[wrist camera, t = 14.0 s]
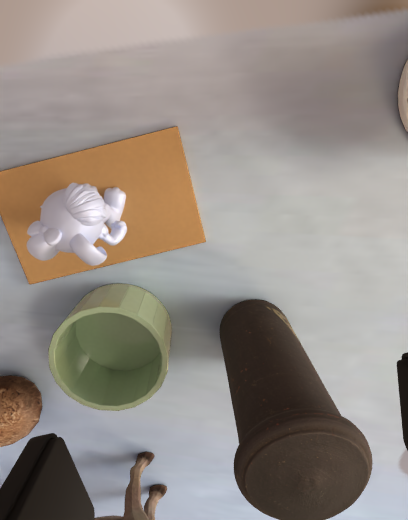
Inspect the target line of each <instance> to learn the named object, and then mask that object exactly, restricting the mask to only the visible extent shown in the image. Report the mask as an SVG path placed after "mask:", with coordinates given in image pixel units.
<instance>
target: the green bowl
mask: <svg viewBox="0 0 408 520" xmlns="http://www.w3.org/2000/svg"><path fill="white" fill-rule="evenodd" d="M171 334H172V326H171V321H170V318H169V315H168V313H167V311H166V309H165V307H164V306H163V304H162V303H161V302H160V301H159V300H158V299H157V298H156V297H155V296H154V295H152V294H151V293H150V292H148V291H146V290H144V289H142V288H140V287H137V286H134V285H129V284H120V283H119V284H109V285H105V286H101V287H99V288H97V289H94V290H93V291H91V292H90V293H88V294H87V295H85V296H84V297H83V298H82V300H81V301H80V302H79V303H78V304H77V306H76V307H75V308H74V309H73V311H72V312H71V313H70V314H69V316H68V317H67V318H66V319H65V320H64V322H63V323H62V324H61V325H60V327H59V328H58V329H57V330H56V332H55V333H54V334H53V337H52V340H51V343H50V346H49V350H48V352H49V366H50V370H51V372H52V374H53V377H54V379H55V381H56V383H57V384H58V385H59V386H60V387H61V389H62V390H63V391H64V392H65V393H66V394H67V395H68V396H69V397H71V398H72V399H74V400H76V401H77V402H79V403H80V404H82V405H85V406H88V407H91V408H95V409H98V410H111V411H119V410H124V409H128V408H133V407H136V406H137V405H139V404H141V403H143V402H145V401H146V400H148V399H149V398H151V397H152V396H153V395H154V393H155V392H156V391H157V390H158V389H159V388H160V387H161V385H162V383H163V381H164V379H165V376H166V374H167V371H168V362H169V354H170V346H171Z"/></svg>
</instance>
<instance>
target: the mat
mask: <svg viewBox="0 0 408 520" xmlns="http://www.w3.org/2000/svg"><path fill="white" fill-rule="evenodd" d="M71 183H77V184H85V183H87V184H89V185H91V186H95V187H96V188H97V190H98V193H99V195H100V196H101V197H102V199H104V193H105V190H106V189H107V188H114V187H118V188H119V189H120V190H121V191H123V192H124V193H125V194H126V200H125V205H124V209H123V212H122V215H121V218H120V221H123V222H125V223H126V226H127V232H126V234H125V236H124V238H123V239H122V240H121V241H120V242H119V243H118V244H116V245H109V244H107V243H106V242H104V241H103V240H101V239H97V240H96V242H95V243H94V244H93V245H94V246H95V247H96V248H97V247H99V246H100V247H102V248H103V249H104V250H105V251H106V253H107V258H106V260H105V261H104V262H103V263H101V264H99V265H96V266H91V265H88V264H86V263H85V262H84V261H82V260H81V259H80V258H79V257H78V256H77V255H76V254H75V253H67V252H62V251H59V252H58V254H57V255H56V256H55V257H53V258H52V259H50V260H46V261H42V260H39V259H36V258H35V257H33V256H32V255H31V254H30V253H29V251H28V249H27V241H28V240H29V239H30V238H31V237H32V236H30V235H28V234H27V230H28V228H29V226H30V225H31V224H32V223H33V222H35V221H40V216H41V207H40V206H42V205H43V203H44V201H45V200H46V199H47V197H48V196H50V195H51V194H52V193H54V192H56V191H58V190H61V189H65V188H67V187H68V186H69V185H70V184H71ZM0 215H1V217H2V219H3V222H4V224H5V227H6V229H7V231H8V234H9V236H10V239H11V241H12V243H13V246H14V248H15V251H16V253H17V256H18V258H19V260H20V263H21V265H22V268H23V270H24V272H25V275H26V277H27V280H28V282H29V284H34V283H38V282H42V281H46V280H51V279H55V278H59V277H63V276H67V275H71V274H75V273H79V272H83V271H88V270H92V269H96V268H100V267H104V266H108V265H112V264H116V263H120V262H125V261H129V260H133V259H137V258H141V257H145V256H149V255H153V254H157V253H162V252H166V251H170V250H174V249H178V248H182V247H186V246H190V245H194V244H199V243H203V242H206V240H205V236H204V232H203V228H202V224H201V220H200V216H199V212H198V208H197V204H196V200H195V196H194V191H193V187H192V183H191V179H190V175H189V171H188V167H187V163H186V159H185V155H184V151H183V147H182V143H181V139H180V135H179V131H178V127H177V126H176V127H172V128H168V129H164V130H161V131H157V132H153V133H149V134H145V135H141V136H137V137H133V138H129V139H125V140H122V141H118V142H114V143H110V144H106V145H102V146H98V147H94V148H90V149H86V150H82V151H79V152H75V153H71V154H67V155H63V156H59V157H55V158H51V159H47V160H43V161H39V162H36V163H32V164H28V165H24V166H20V167H16V168H12V169H8V170H4V171H0ZM104 224H105V223H104ZM105 225H106V224H105ZM106 226H107V225H106ZM107 228H108V233H109V234H110V233H111V228H109V227H108V226H107Z"/></svg>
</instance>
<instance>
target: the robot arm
mask: <svg viewBox="0 0 408 520" xmlns="http://www.w3.org/2000/svg"><path fill="white" fill-rule="evenodd" d="M407 99H408V60H407V62H406V64H405V66H404V69H403V72H402V75H401V78H400V83H399V90H398V107H399V112H400V117H401V120H402V122H403V125H404V127H405V129H406V131H407V132H408V102H407ZM397 372H398V384H399V395H400V406H401V417H402V428H403V439H404V443H405V446H406V448H407V450H408V353H404V354H403V355H402V360H399V361H398V362H397ZM0 520H94V507H93V505H92V502H91V500H90V498H89V496H88V494H87V491H86V489H85V487H84V485H83V482H82V480H81V478H80V476H79V473H78V471H77V469H76V467H75V464H74V462H73V460H72V458H71V455H70V453H69V451H68V449H67V447H66V444H65V442H64V440H63V439H62V438H61V437H59V438H58V437H57V435H56V434H54V433H51V434H46V435H42V436H38V437H33V438H31V439H30V440H29V441H28V443H27V445H26V446H25V448H24V450H23V451H22V453H21V455H20V456H19V458H18V460H17V462H16V463H15V465H14V467H13V468H12V470H11V472H10V473H9V475H8V477H7V478H6V480H5V482H4V484H3V485H2V487H1V489H0Z"/></svg>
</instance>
